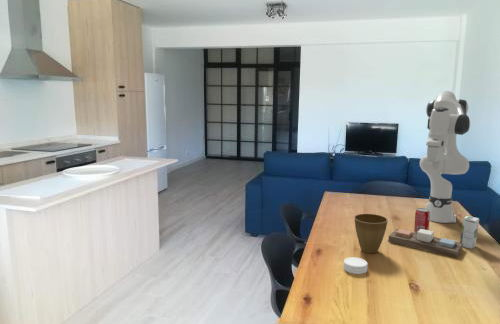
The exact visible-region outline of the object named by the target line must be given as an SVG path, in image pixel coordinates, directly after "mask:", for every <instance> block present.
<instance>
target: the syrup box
mask: <svg viewBox="0 0 500 324" xmlns="http://www.w3.org/2000/svg"><path fill="white" fill-rule="evenodd" d="M479 224H480V218H479V217H474V216H471V215H466V216H465V217H463V219H462V225H461V232H460V239H459V243H463V246H462V248H466V249H471V250H473V249H474V248H475V247H476V245H477V241H478V232H479Z"/></svg>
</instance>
